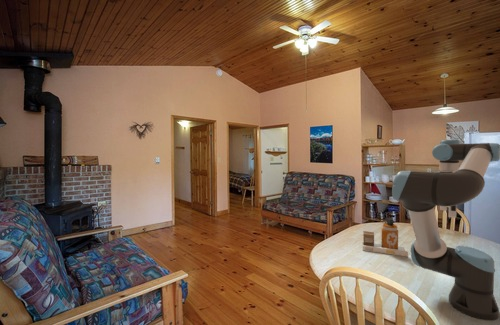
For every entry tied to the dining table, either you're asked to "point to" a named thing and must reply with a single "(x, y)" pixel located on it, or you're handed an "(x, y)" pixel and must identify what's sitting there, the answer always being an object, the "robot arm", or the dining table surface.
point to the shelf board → (386, 250)
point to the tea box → (368, 238)
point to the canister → (389, 234)
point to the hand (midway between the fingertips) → (447, 213)
